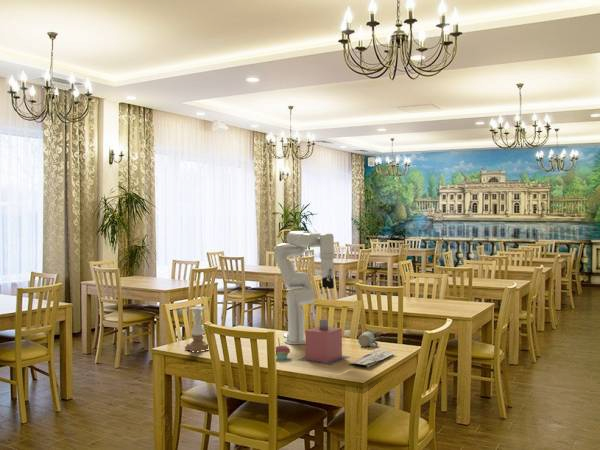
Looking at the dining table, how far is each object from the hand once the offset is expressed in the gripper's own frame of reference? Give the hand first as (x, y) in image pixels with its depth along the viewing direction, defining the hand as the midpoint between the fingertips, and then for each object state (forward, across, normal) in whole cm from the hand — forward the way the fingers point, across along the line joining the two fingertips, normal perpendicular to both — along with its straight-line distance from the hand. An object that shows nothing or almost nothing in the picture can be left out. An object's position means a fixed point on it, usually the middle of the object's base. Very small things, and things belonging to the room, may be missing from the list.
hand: (328, 287), depth 319 cm
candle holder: (+34, -30, -68) cm, 82 cm away
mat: (+36, +13, -7) cm, 39 cm away
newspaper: (+37, +23, +16) cm, 46 cm away
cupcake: (+36, +5, -28) cm, 46 cm away
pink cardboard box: (+35, +13, -7) cm, 38 cm away
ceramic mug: (+36, -10, +27) cm, 46 cm away
